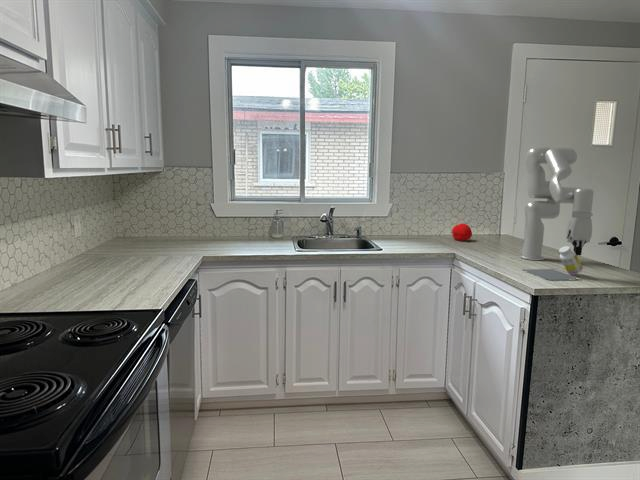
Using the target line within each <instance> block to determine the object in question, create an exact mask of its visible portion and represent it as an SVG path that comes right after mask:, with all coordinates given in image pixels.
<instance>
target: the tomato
mask: <svg viewBox="0 0 640 480" xmlns="http://www.w3.org/2000/svg"><path fill="white" fill-rule="evenodd" d="M451 233H452V234H451V236H452V237H453V240H455V241H458V242H466V241H468V240H470V239H471V238H472V236H473V232H472V229H471V227H470V226H469V225H468V224H466V223H459V224H456V225H455V226H453V227H452V228H451Z"/></svg>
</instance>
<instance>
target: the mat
mask: <svg viewBox="0 0 640 480" xmlns="http://www.w3.org/2000/svg"><path fill="white" fill-rule="evenodd" d="M523 270H524V271H523ZM522 271H523V272H525V271H527V272H526V273H528V272H529V273H528V274H531V273H532V274H531V275H533V274H534V276H536V275H537V276H536V277H538V276H540V277H539V278H541V277H542V278H541V279H543V278H545V279H544V280H546V279H548V280H563V281H570V280H569V279H576V278H578V277H576V276H573V275H572V274H569V273H566V272H562V271H560V270H557V269H554V268H537V269H535V268H533V269H531V268H529V269H528V268H527V269H525V268H524V269H522ZM548 280H547V281H548Z"/></svg>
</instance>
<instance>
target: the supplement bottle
mask: <svg viewBox="0 0 640 480" xmlns="http://www.w3.org/2000/svg"><path fill="white" fill-rule="evenodd" d="M573 250H574V249H572V248H571V247H570V246H568V245H565V246H562V247H561V248H560V249H559V250H558V252H559V253H560V255H559V259H560V261H561V263H562V265H563V266H564V268H565V270H566V272H567V274H568V275H571V276H573V275H578V274H579V273H581V272H582V271H583V265H582V263H581V262H580V260H579V257H578V255H576V253H575V252H574V251H573Z"/></svg>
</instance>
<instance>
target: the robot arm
mask: <svg viewBox="0 0 640 480" xmlns="http://www.w3.org/2000/svg"><path fill="white" fill-rule="evenodd" d="M577 159H578V154H577V151H576V150H575V149H574V148H571V147H542V146H539V147H532V148H531V149H529V150H528V151H527V153H526V156H525V167H526V170H527V194H528V197H530V198H532V199H539V200H532V201H529V202H527V203H526V204H525V206H524V217H525V218H524V219H525V221H524V223H525V225H524V234H523V245H522V249H520V252H521V254H518V255H519V256H518V257H519V258H520V259H523V260H529V261H543V260H545V256H543V255H542V254H543V243H544V234H545V224H544V223H543V221H542V220H543V219H546V220H547V219H550V220H552V219H553V220H554V219H557V218H558V217H559V215H560V211H561V204H572V213H571V218H569V220H568V224H567V227H566V232H565V233H566V234H565V239H567V241H566V242H567V243H571V245H572V246H573V249H572V250H573V251H574V252H575V253H576V255H577V256H582V250H583V247H584V246H585V244H588V243H590V242H591V239H592V237H593V235H592V234H593V220H592V217H593V214H594V213H593V212H592V210H593V200H594V192H595V191H594V190H593V189H591V188H583V187H572V186H571V187H568V186H567V187H564V186H562V185H561V183H560V182H561V181H562V180H565V179H566V178H568V177H570V176H571V174H572V172H573V170H572V167H571V166H572V165H573V164H575V163H576V161H577ZM542 164H545V165H546V164H547V165H548V167H549V169H550V172H551V174H552V177H551V179H550V180H546V172H545V169H544V167H543V166H542ZM541 199H545V200H546V201H545V200H541Z"/></svg>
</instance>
